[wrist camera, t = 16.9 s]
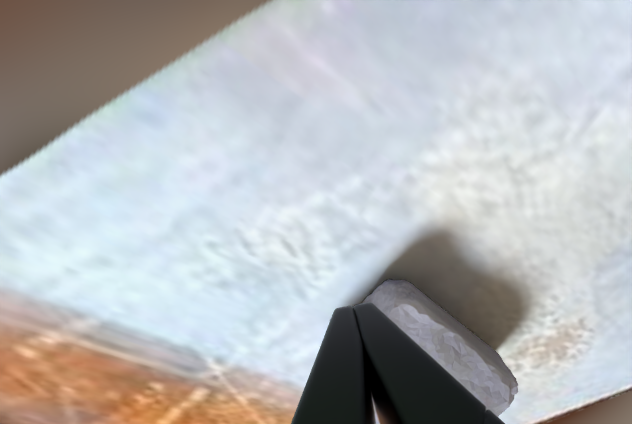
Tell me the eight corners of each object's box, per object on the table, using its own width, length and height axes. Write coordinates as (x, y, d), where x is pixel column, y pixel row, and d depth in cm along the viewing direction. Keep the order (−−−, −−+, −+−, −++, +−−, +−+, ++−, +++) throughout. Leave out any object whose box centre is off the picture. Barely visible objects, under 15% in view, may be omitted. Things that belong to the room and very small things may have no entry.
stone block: (407, 400, 30) (513, 349, 25) (415, 464, 26) (543, 416, 21) (301, 330, 27) (400, 256, 22) (290, 389, 22) (409, 314, 18)
